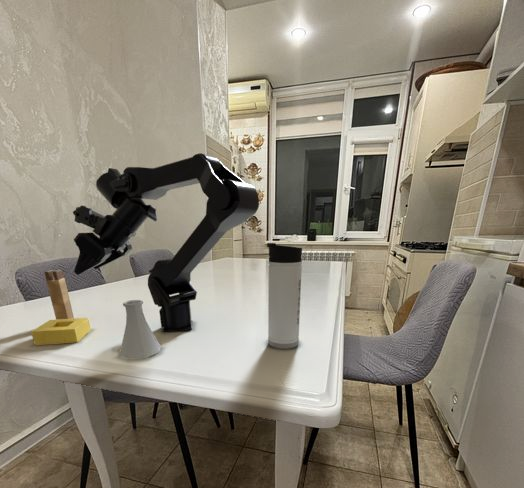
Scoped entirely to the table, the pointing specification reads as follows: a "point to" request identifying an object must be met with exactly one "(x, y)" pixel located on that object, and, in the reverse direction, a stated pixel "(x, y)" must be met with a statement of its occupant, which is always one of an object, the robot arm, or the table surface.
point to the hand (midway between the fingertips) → (85, 270)
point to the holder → (61, 331)
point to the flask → (137, 333)
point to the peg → (59, 294)
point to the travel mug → (284, 295)
